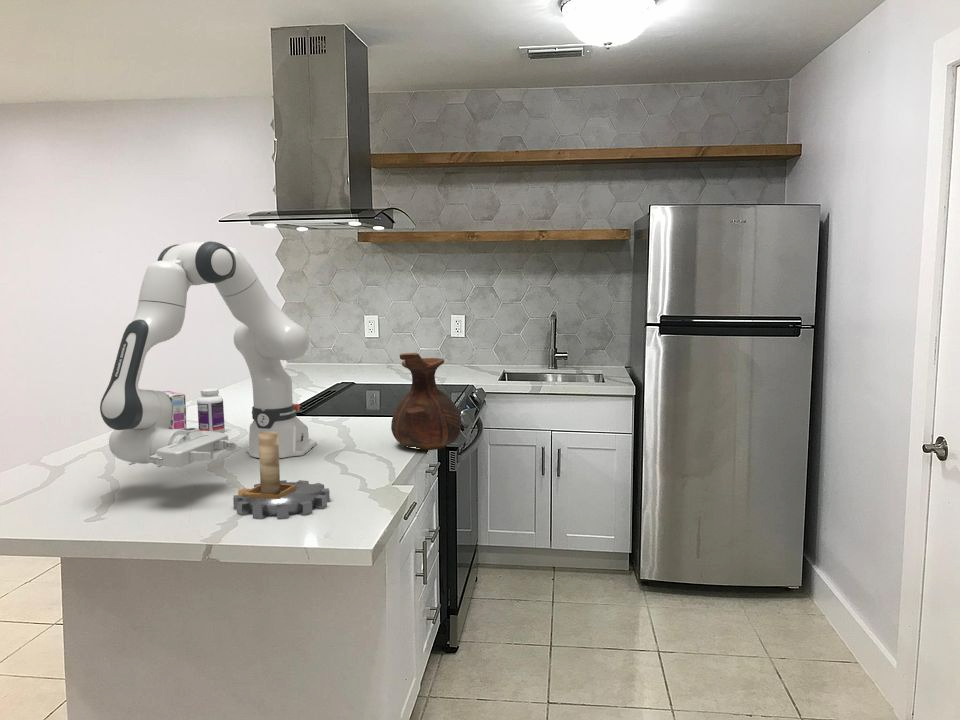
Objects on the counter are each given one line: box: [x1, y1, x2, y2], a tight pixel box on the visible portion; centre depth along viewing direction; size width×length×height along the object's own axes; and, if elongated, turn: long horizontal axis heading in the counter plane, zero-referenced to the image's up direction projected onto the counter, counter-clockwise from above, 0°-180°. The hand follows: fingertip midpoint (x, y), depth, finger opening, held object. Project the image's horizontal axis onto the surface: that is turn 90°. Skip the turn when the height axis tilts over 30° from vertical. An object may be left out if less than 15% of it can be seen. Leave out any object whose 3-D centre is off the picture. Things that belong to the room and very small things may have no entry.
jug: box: [390, 352, 462, 451], centre depth 235 cm, size 22×22×30 cm
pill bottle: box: [197, 387, 226, 433], centre depth 254 cm, size 8×8×14 cm
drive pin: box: [258, 432, 281, 495], centre depth 180 cm, size 4×4×14 cm
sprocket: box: [232, 479, 331, 520], centre depth 181 cm, size 22×22×3 cm
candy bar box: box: [162, 390, 188, 429], centre depth 236 cm, size 11×5×16 cm, turn 47°
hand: (223, 451), depth 183 cm, fingers open, 8 cm apart
